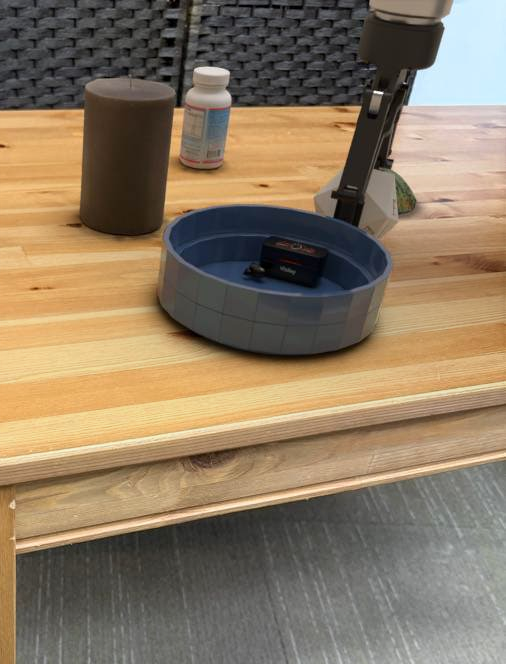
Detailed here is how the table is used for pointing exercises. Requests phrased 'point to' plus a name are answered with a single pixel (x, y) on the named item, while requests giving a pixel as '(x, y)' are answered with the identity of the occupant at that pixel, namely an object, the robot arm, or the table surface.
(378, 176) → the die
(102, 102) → the pillar candle
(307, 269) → the wireless earbuds
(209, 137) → the pill bottle
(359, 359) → the table surface
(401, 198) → the seashell
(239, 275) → the bowl
